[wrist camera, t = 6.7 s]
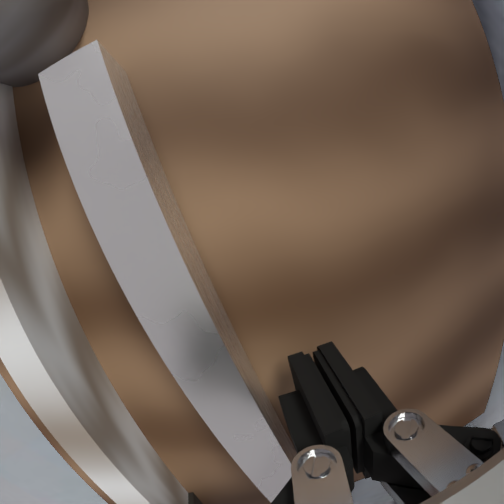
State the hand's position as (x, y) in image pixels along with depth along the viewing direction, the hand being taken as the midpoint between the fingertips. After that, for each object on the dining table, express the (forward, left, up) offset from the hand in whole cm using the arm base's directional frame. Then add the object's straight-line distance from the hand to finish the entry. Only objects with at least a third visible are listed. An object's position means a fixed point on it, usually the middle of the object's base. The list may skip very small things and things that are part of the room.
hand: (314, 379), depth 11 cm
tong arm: (-1, -3, -1) cm, 3 cm away
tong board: (-4, 0, -2) cm, 4 cm away
